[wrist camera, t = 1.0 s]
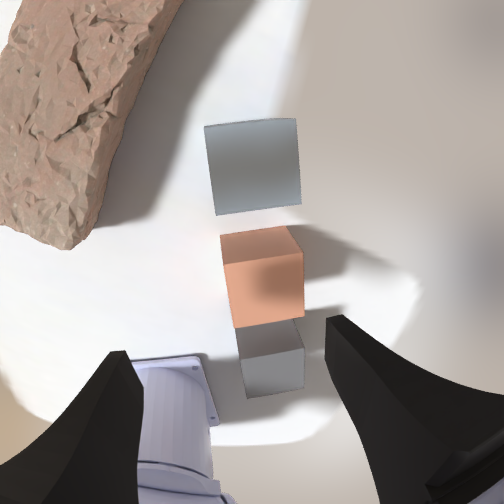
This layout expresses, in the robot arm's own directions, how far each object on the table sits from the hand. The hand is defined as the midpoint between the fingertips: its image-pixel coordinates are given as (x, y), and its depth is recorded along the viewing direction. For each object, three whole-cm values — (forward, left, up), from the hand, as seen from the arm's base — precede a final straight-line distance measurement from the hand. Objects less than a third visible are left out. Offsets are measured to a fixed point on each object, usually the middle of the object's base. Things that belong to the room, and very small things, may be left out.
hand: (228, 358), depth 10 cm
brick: (+11, +7, -10) cm, 16 cm away
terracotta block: (-1, -2, -10) cm, 10 cm away
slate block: (+5, -2, -10) cm, 11 cm away
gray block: (-8, -2, -10) cm, 12 cm away
